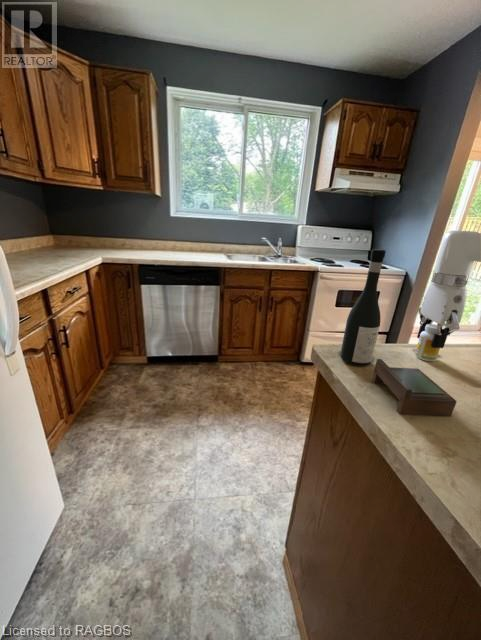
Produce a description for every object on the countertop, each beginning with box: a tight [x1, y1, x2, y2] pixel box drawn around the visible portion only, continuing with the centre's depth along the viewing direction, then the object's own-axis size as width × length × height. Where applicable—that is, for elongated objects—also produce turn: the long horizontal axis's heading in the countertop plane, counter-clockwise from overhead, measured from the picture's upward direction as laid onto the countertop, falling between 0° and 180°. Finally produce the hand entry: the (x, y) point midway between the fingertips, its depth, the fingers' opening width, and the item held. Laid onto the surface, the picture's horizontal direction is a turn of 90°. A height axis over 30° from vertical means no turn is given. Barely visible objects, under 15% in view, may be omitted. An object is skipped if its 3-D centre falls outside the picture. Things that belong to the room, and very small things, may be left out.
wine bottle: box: [340, 248, 387, 367], centre depth 70 cm, size 8×8×30 cm
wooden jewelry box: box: [370, 358, 458, 418], centre depth 57 cm, size 10×12×7 cm
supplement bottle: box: [414, 323, 444, 362], centre depth 77 cm, size 5×5×10 cm
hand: (429, 342), depth 77 cm, fingers closed on supplement bottle, 5 cm apart
